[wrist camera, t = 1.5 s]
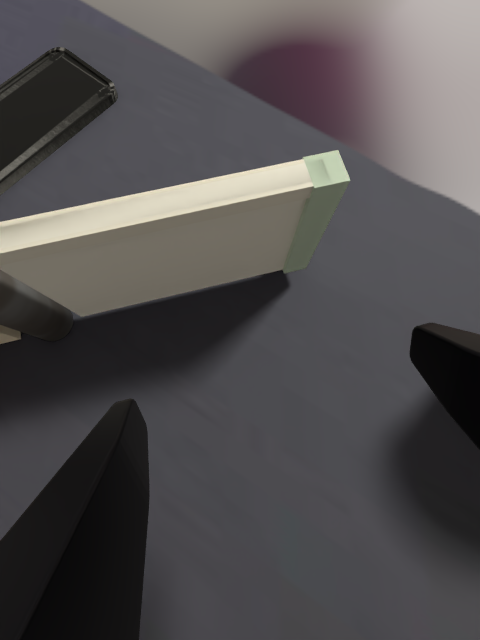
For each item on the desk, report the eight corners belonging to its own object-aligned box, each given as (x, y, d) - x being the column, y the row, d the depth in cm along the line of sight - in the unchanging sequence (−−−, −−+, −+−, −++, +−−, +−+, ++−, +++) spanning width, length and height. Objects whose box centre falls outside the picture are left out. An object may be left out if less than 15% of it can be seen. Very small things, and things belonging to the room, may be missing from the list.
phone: (120, 87, 27) (-27, 203, 23) (124, 99, 28) (-15, 212, 24) (57, 42, 28) (-89, 146, 25) (64, 56, 29) (-76, 157, 26)
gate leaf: (82, 320, 21) (-26, 261, 12) (79, 298, 21) (-28, 225, 12) (305, 268, 22) (350, 180, 13) (299, 248, 22) (337, 150, 14)
